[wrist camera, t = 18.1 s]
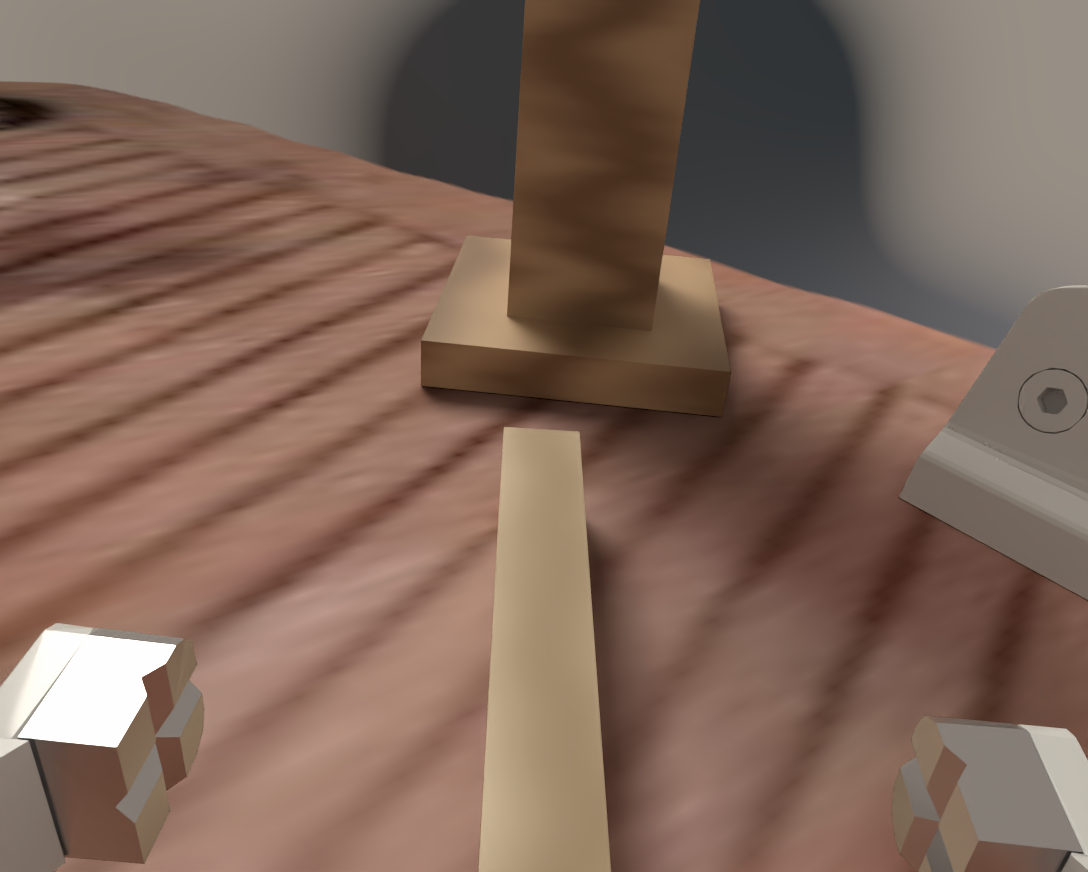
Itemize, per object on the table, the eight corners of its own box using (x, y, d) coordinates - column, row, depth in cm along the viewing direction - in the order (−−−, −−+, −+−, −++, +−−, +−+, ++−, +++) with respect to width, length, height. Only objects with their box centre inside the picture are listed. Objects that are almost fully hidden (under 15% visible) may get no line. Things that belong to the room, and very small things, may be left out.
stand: (420, 385, 38) (427, -503, 25) (465, 273, 48) (487, -398, 35) (722, 416, 38) (897, -468, 24) (703, 297, 48) (818, -372, 35)
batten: (460, 1183, 16) (465, 1087, 14) (499, 508, 32) (504, 426, 30) (603, 1186, 16) (626, 1092, 14) (570, 512, 32) (579, 431, 31)
